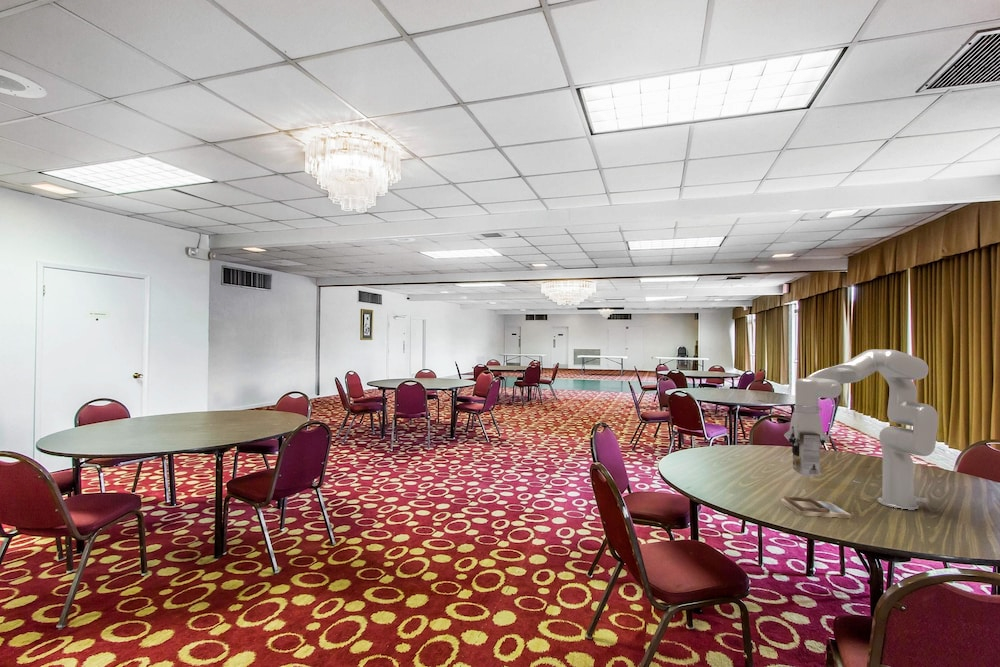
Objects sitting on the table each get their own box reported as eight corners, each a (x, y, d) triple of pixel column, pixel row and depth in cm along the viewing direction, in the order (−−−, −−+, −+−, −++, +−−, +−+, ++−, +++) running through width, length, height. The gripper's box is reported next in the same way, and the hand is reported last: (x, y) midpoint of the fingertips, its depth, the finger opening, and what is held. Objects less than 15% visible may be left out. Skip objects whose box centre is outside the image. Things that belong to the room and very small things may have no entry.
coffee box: (791, 468, 183) (792, 428, 183) (809, 470, 182) (809, 430, 182) (802, 475, 174) (802, 433, 174) (820, 476, 173) (821, 434, 173)
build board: (828, 505, 183) (828, 498, 183) (851, 518, 169) (851, 511, 169) (781, 502, 185) (781, 495, 185) (798, 515, 171) (798, 508, 171)
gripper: (825, 409, 181) (824, 455, 180) (778, 407, 183) (777, 452, 183) (836, 412, 173) (835, 459, 173) (787, 410, 176) (787, 456, 175)
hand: (806, 455), depth 178 cm, fingers closed on coffee box, 6 cm apart
